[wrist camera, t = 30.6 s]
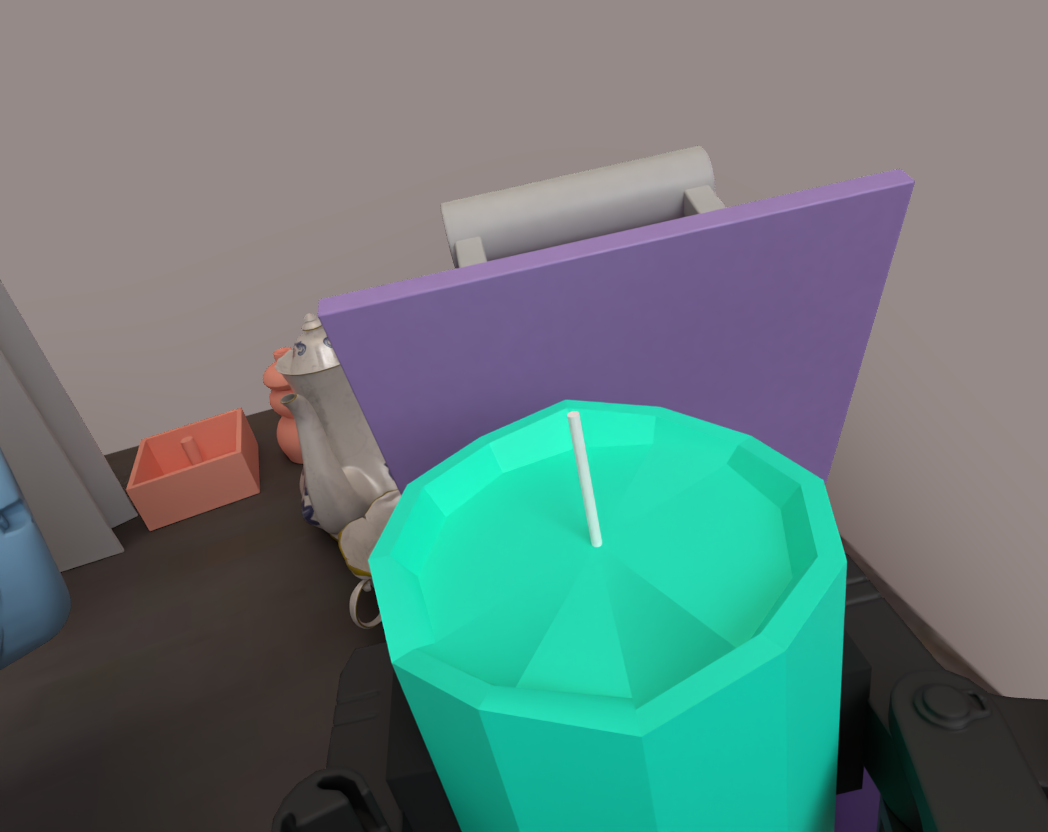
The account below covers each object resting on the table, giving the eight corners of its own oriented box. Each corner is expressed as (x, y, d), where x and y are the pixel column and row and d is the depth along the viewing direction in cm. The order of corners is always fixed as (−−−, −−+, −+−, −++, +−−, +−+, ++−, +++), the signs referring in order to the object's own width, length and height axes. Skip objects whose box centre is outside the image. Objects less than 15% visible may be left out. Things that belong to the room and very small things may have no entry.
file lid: (916, 180, 14) (798, 84, 18) (316, 315, 14) (324, 190, 17) (794, 592, 27) (740, 486, 30) (480, 666, 26) (464, 549, 30)
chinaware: (506, 663, 39) (470, 412, 31) (230, 666, 41) (126, 428, 32) (530, 419, 63) (514, 242, 55) (357, 427, 65) (315, 256, 57)
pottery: (149, 531, 56) (90, 430, 51) (161, 476, 64) (111, 385, 59) (361, 457, 60) (324, 357, 55) (347, 414, 68) (314, 324, 63)
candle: (515, 801, 17) (366, 361, 11) (760, 759, 16) (740, 285, 11) (530, 1153, 11) (255, 658, 6) (892, 1100, 11) (996, 522, 5)
